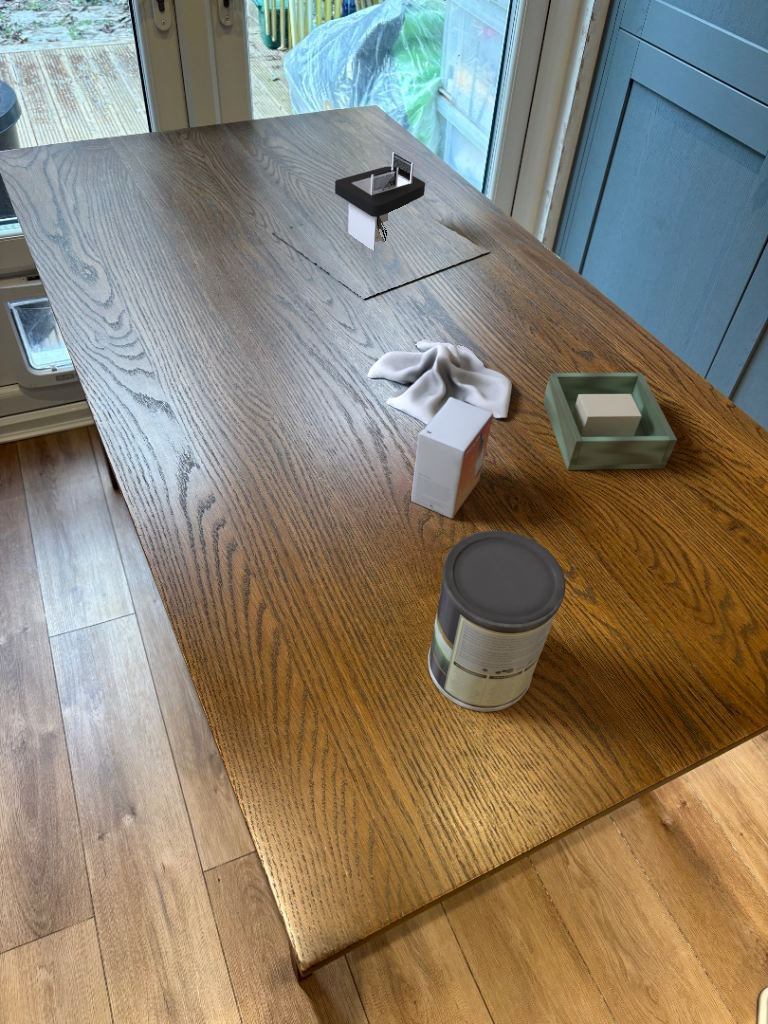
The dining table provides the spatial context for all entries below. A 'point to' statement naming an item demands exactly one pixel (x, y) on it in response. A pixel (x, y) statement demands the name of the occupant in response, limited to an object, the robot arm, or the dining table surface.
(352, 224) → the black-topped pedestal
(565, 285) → the dining table surface
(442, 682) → the coffee can
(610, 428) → the cream rectangular block
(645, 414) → the holder
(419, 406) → the cloth
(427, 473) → the small box
